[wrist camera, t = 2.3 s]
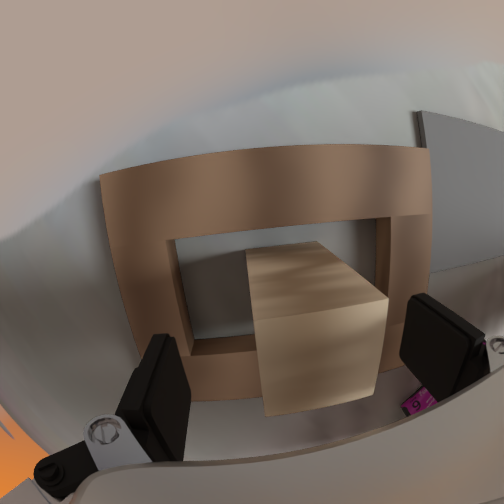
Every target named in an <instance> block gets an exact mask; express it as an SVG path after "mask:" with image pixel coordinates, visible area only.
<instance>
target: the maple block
mask: <svg viewBox="0 0 504 504" xmlns="http://www.w3.org/2000/svg"><path fill="white" fill-rule="evenodd" d="M245 251H246V260H247V269H248V278H249V287H250V295H251V304H252V313H253V321H254V330H255V338H256V347H257V355H258V363H259V372H260V380H261V388H262V396H263V404H264V412H265V417H269V416H277V415H284V414H291V413H297V412H303V411H308V410H313V409H318V408H323V407H328V406H332V405H337V404H341V403H345V402H349V401H353V400H357V399H360V398H364V397H367V396H371V395H373V393H374V389H375V384H376V380H377V375H378V370H379V365H380V359H381V354H382V348H383V341H384V335H385V328H386V320H387V311H388V302H389V298H388V297H386V296H385V295H384V294H383V293H382V292H380V291H379V290H378V289H377V288H376V287H374V286H373V285H372V284H371V283H369V282H368V281H367V280H366V279H364V278H363V277H362V276H361V275H359V274H358V273H357V272H356V271H354V270H353V269H352V268H351V267H349V266H348V265H347V264H346V263H344V262H343V261H342V260H341V259H339V258H338V257H337V256H335V255H334V254H333V253H331V252H330V251H329V250H328V249H326V248H325V247H324V246H322V245H321V244H320V243H318V242H317V241H315V242H306V243H297V244H288V245H279V246H271V247H262V248H253V249H245Z"/></svg>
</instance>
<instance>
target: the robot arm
mask: <svg viewBox="0 0 504 504" xmlns="http://www.w3.org/2000/svg"><path fill="white" fill-rule="evenodd" d="M484 337H485V334H484V333H483V332H481V331H480V330H479V329H477V328H476V327H474V326H473V325H472V324H470V323H469V322H467V321H466V320H464V319H463V318H462V317H460V316H459V315H457V314H456V313H454V312H453V311H451V310H450V309H448V308H447V307H445V306H444V305H442V304H441V303H439V302H438V301H436V300H435V299H433V298H432V297H430V296H429V295H427V294H426V293H419V294H415V295H412V296H411V298H410V299H409V300H408V303H407V309H406V316H405V323H404V329H403V334H402V340H401V345H400V350H399V356H400V359H401V360H402V362H403V363H404V364H405V365H406V366H407V367H408V368H409V370H410V371H411V372H412V373H413V374H414V375H415V376H416V378H417V379H418V380H419V381H420V382H421V383H422V385H423V386H424V387H425V388H426V389H427V391H428V392H429V393H430V394H431V395H432V396H433V398H434V399H435V400H436V401H437V402H438V403H436V404H434V405H432V406H430V407H428V408H426V409H424V410H422V411H420V412H417V413H415V414H413V415H411V416H408V417H406V418H404V419H401V420H399V421H396V422H394V423H391V424H389V425H386V426H383V427H380V428H378V429H375V430H372V431H369V432H366V433H363V434H360V435H357V436H353V437H350V438H347V439H343V440H339V441H336V442H332V443H328V444H324V445H320V446H316V447H311V448H307V449H302V450H297V451H291V452H286V453H280V454H273V455H266V456H258V457H249V458H239V459H227V460H209V461H183V458H184V449H185V441H186V433H187V426H188V418H189V411H190V404H191V389H190V386H189V383H188V380H187V377H186V373H185V370H184V367H183V364H182V360H181V357H180V353H179V350H178V346H177V343H176V339H175V337H170V335H169V334H168V333H162V334H153V336H152V338H151V340H150V342H149V344H148V347H147V349H146V351H145V353H144V355H143V358H142V360H141V362H140V364H139V367H138V368H135V370H134V371H133V373H132V375H131V378H130V380H129V382H128V384H127V387H126V389H125V391H124V394H123V396H122V398H121V401H120V403H119V405H118V408H117V410H116V413H115V415H111V414H104V415H100V416H97V417H95V418H93V419H91V420H90V421H89V422H88V423H87V424H86V426H85V428H84V432H83V436H84V441H82V442H79V443H77V444H75V445H73V446H71V447H69V448H66V449H64V450H62V451H60V452H57V453H55V454H53V455H50V456H48V457H45V458H44V459H42V460H40V461H39V462H38V463H37V464H36V466H35V469H34V479H33V480H31V479H30V478H27V479H26V480H25V481H23V482H22V483H21V484H19V485H18V486H17V487H16V488H14V489H13V490H11V491H10V492H9V493H8V494H6V495H5V496H3V497H2V498H1V499H0V504H504V337H503V336H492V337H490V338H488V339H487V341H486V344H483V340H484Z"/></svg>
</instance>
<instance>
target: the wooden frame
mask: <svg viewBox="0 0 504 504" xmlns="http://www.w3.org/2000/svg"><path fill="white" fill-rule="evenodd" d="M99 176H100V186H101V194H102V202H103V209H104V215H105V222H106V228H107V233H108V239H109V244H110V249H111V254H112V259H113V263H114V268H115V272H116V276H117V280H118V284H119V288H120V292H121V296H122V300H123V303H124V307H125V310H126V314H127V317H128V320H129V323H130V327H131V330H132V333H133V336H134V339H135V342H136V345H137V348H138V351H139V353H140V356H141V359H142V358H143V355H144V353H145V351H146V349H147V347H148V344H149V342H150V340H151V338H152V336H153V334H162V333H168V334H169V335H170V337H175V339H176V343H177V346H178V350H179V353H180V357H181V360H182V364H183V367H184V370H185V373H186V377H187V380H188V383H189V386H190V389H191V401H219V400H234V399H246V398H256V397H263V396H262V388H261V380H260V372H259V363H258V355H257V347H256V338H255V334H253V335H244V336H234V337H223V338H211V339H197V340H194V336H193V331H192V327H191V323H190V318H189V314H188V309H187V304H186V300H185V295H184V290H183V285H182V279H181V274H180V269H179V263H178V258H177V252H176V246H175V240H174V239H179V238H187V237H195V236H203V235H212V234H220V233H229V232H237V231H246V230H255V229H264V228H274V227H283V226H293V225H303V224H313V223H324V222H334V221H345V220H357V219H368V218H376V271H375V287H376V288H377V289H378V290H379V291H380V292H382V293H383V294H384V295H385V296H386V297H388V298H389V302H388V311H387V320H386V328H385V335H384V341H383V348H382V354H381V359H380V365H379V370H378V374H379V373H382V372H385V371H389V370H392V369H395V368H398V367H401V366H404V365H405V364H404V363H403V362H402V360H401V359H400V356H399V350H400V345H401V340H402V334H403V329H404V323H405V316H406V309H407V303H408V300H409V299H410V298H411V296H412V295H415V294H419V293H426V294H427V289H428V281H429V272H430V261H431V246H432V179H431V164H430V153H429V149H428V148H417V147H404V146H388V145H360V144H324V145H295V146H278V147H264V148H253V149H243V150H233V151H225V152H217V153H209V154H202V155H195V156H189V157H183V158H177V159H171V160H165V161H160V162H155V163H150V164H145V165H140V166H136V167H131V168H127V169H122V170H118V171H114V172H110V173H106V174H102V175H99Z"/></svg>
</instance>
